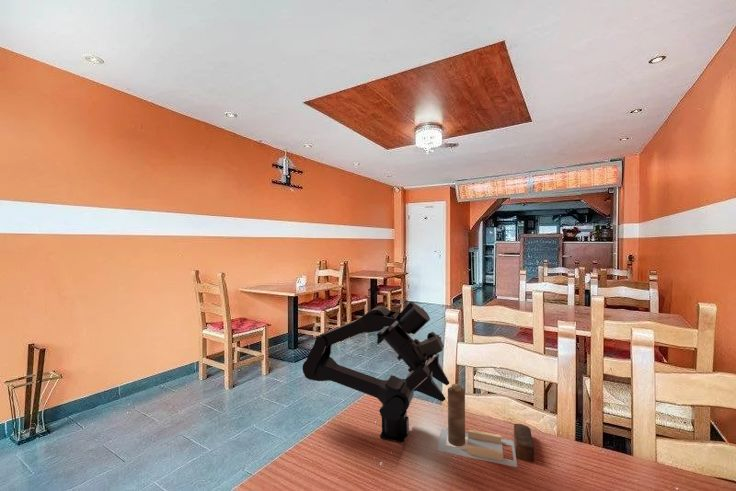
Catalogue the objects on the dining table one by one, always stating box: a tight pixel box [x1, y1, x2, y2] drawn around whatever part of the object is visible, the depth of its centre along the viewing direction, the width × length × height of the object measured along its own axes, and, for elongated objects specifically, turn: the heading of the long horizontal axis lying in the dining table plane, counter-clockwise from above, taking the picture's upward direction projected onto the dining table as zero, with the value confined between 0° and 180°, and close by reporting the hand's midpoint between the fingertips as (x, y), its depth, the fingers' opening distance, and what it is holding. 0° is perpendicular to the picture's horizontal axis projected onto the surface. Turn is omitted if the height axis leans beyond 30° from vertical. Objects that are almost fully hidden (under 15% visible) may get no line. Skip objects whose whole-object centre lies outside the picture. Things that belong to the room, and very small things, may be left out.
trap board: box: [436, 427, 518, 468], centre depth 80 cm, size 18×10×3 cm, turn 70°
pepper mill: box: [447, 383, 466, 446], centre depth 82 cm, size 4×4×14 cm
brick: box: [513, 423, 535, 462], centre depth 80 cm, size 11×4×5 cm, turn 158°
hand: (446, 391), depth 82 cm, fingers open, 9 cm apart
